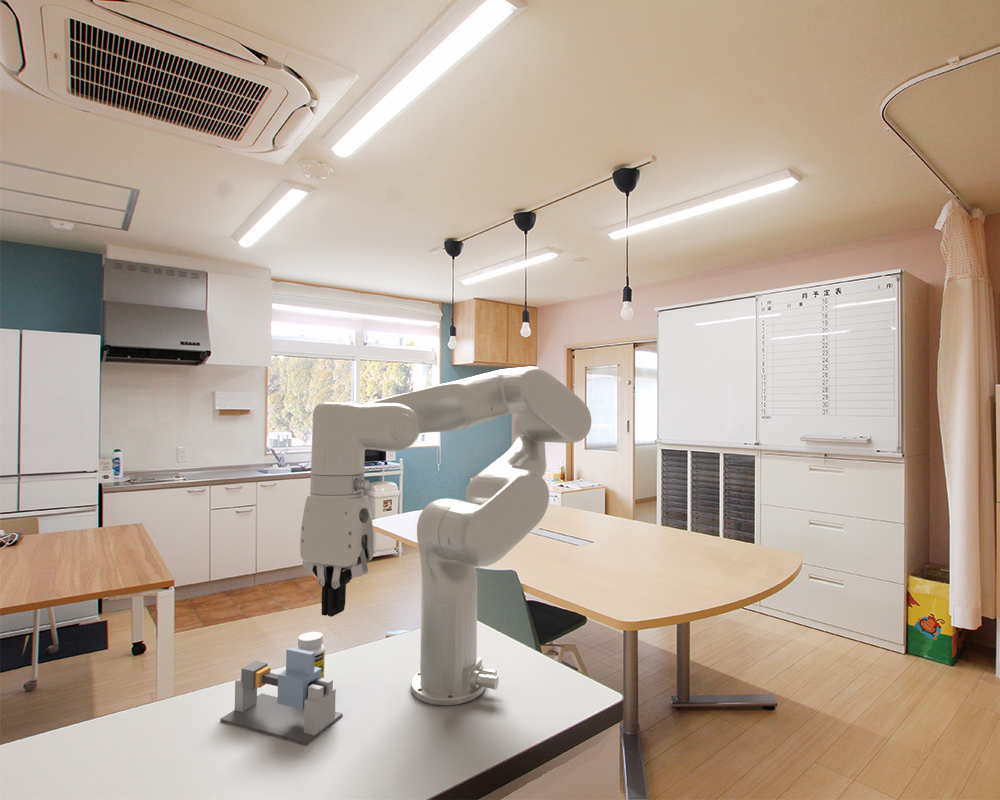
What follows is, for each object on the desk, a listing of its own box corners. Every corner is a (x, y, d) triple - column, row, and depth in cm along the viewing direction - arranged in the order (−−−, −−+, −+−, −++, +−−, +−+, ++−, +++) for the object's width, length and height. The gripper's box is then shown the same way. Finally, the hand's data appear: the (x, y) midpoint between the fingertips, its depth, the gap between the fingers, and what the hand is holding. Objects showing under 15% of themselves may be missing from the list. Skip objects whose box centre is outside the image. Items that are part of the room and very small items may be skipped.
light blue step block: (320, 696, 81) (321, 648, 82) (302, 709, 78) (303, 659, 78) (296, 690, 83) (297, 643, 83) (277, 703, 79) (278, 653, 79)
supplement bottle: (314, 694, 88) (315, 642, 89) (288, 691, 89) (289, 640, 90) (329, 680, 93) (330, 631, 93) (304, 678, 94) (305, 629, 94)
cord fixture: (342, 716, 82) (343, 670, 82) (306, 745, 75) (307, 694, 75) (261, 695, 88) (262, 652, 88) (220, 721, 80) (221, 674, 81)
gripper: (395, 486, 80) (391, 612, 79) (313, 481, 85) (309, 598, 84) (365, 492, 73) (360, 630, 72) (278, 485, 78) (273, 613, 77)
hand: (333, 612), depth 78 cm, fingers closed
